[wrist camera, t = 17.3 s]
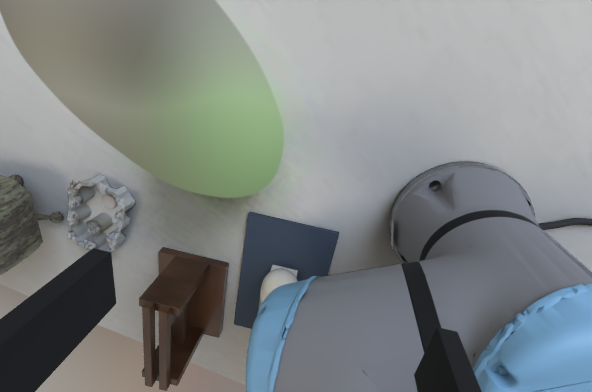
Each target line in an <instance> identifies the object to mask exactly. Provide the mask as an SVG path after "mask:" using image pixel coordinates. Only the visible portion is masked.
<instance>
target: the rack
mask: <svg viewBox="0 0 592 392" xmlns="http://www.w3.org/2000/svg"><path fill="white" fill-rule="evenodd" d="M228 266H229V263H226V262H222V261H218V260H214V259H210V258H205V257H201V256H197V255H193V254H189V253H185V252H180V251H176V250H172V249H168V248H164V247H163V248H162V249H161V250H160V251H159V276H158V277H157V278H156V279H155V281H154V282H153V283H152V284H151V285H150V286H149V288H148V289H147V290H146V291H145V292H144V294H143V295H142V296H141V297H140V298H139V306H141V307H142V314H143V341H144V369H143V370H142V376H143V377H145V385H147V386H150V387H152V386H153V384H154V383H155V381H156V380H157V381H159V389H161V390H165V391H166V390H167V389H168V387H169V385H170V384H173V385H176V386H177V385H178V383H179V381H180V379H181V377H182V375H183V373H184V371H185V369H186V367H187V366H188V364H189V362H190V360H191V358H192V356H193V354H194V352H195V350H196V348H197V346H198V344H199V342H200V340H201V338H202V336H203V334H206V335H210V336H214V337H218V338H219V336H220V334H221V330H222V321H223V312H224V303H225V293H226V284H227V275H228ZM155 310H157V311H159V345H158V347H157V348H156V350H155Z"/></svg>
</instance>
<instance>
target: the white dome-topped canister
mask: <svg viewBox="0 0 592 392" xmlns="http://www.w3.org/2000/svg"><path fill="white" fill-rule="evenodd" d="M297 272H298V271H297V270H294V269H289V268H285V267H281V266H277V265H272V268H271V271H270V272H269V273H268V274H267V275H266V276H265V277H264V279H263V282H262V285H261V291H260V297H259V308H260V306H261V305H262V303H263V301H264V300H265V298H266V297H267V296H268V295H269V293H270V292H272V291H273V290H274V289H276V288H277V287H279V286H281V285H285V284H289V283H294V282H298V280H297V278H296V277H297Z"/></svg>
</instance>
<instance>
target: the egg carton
mask: <svg viewBox="0 0 592 392" xmlns="http://www.w3.org/2000/svg"><path fill="white" fill-rule="evenodd" d="M68 190H69V192H68V199H70V201H69V204H68V206H69V212H68V214H67V218H68V223H69V225H68V226H69V228H70V231H69V232H68V234H67V236H68V239H75V240H76V241H77V242H78V243H77V245H81V246H84V248H86V249H87V250H91V249H93V248H95V249H99V250H103V251H108V252H111V253H112V251H113V250H114V249H115V248H117V247H118V246H119V245H120V244H122V243H123V242H124V240H125V236H124V235H123V234H122V233H121V230H122V229H123V228H124V227H126V226H127V225H128V224H129V223H130V218H129V217H127V216H126V213H125V211H127V210H128V209H130V208H131V207H133V206H134V204H135V200H134V199H133V197H132V196H131V195H130V192H129V189H127V188H126V187H124V186H122V187H120V188H119V189H114V188H112V187H110V186H109V185H108V183H107V178H106V177H104V176H102V175H98V176H96V177H94V178H91V179H88V180H85V181H83V182H78V181H75V180H73V181H72V183H70V187H69V189H68Z"/></svg>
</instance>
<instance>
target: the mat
mask: <svg viewBox="0 0 592 392" xmlns="http://www.w3.org/2000/svg"><path fill="white" fill-rule="evenodd" d="M338 235H339V232H335V231H331V230H327V229H322V228H318V227H314V226H309V225H305V224H300V223H296V222H292V221H287V220H283V219H279V218H274V217H270V216H266V215H261V214H257V213H252V212H249V214H248V220H247V228H246V236H245V243H244V251H243V259H242V266H241V274H240V282H239V289H238V297H237V305H236V312H235V320H234V324H235V325H239V326H243V327H247V328H251V329H252V327H253V324H254V321H255V319H256V317H257V314H258V311H259V297H260V291H261V285H262V282H263V279H264V277H265V276H266V275H267V274H268V273H269V272H270V271H271V268H272V265H277V266H281V267H285V268H289V269H294V270H297V271H298V272H297V277H296V278H297V280H298V281H303V280H307V279H309V278H310V277H312V276H321V277H323V276H327V275H328V272H329V268H330V264H331V261H332V257H333V253H334V250H335V246H336V243H337V239H338Z"/></svg>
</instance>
